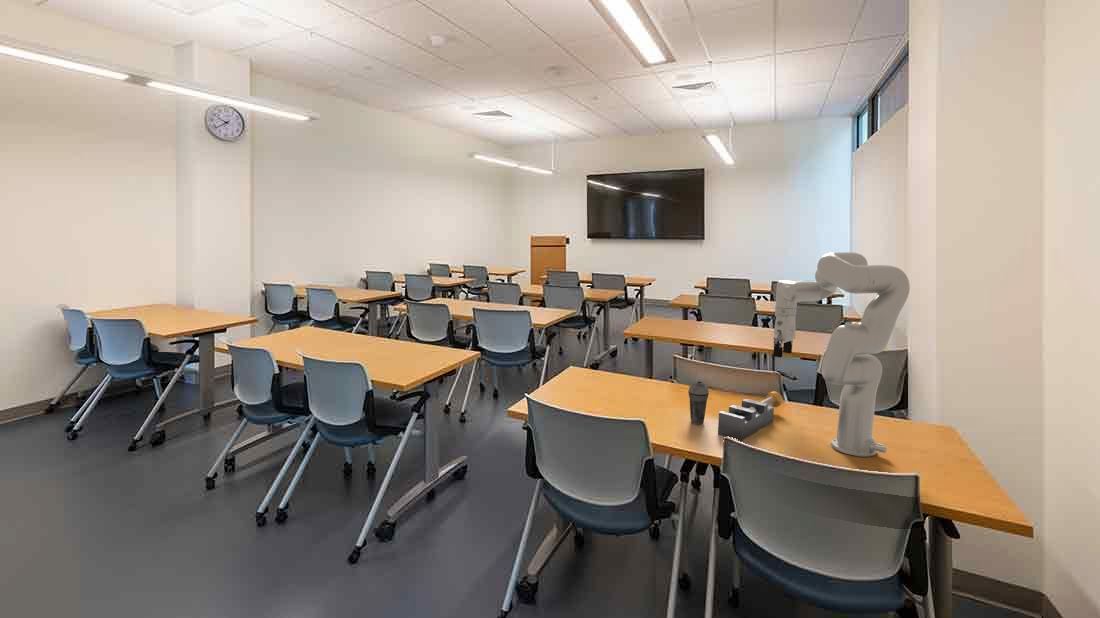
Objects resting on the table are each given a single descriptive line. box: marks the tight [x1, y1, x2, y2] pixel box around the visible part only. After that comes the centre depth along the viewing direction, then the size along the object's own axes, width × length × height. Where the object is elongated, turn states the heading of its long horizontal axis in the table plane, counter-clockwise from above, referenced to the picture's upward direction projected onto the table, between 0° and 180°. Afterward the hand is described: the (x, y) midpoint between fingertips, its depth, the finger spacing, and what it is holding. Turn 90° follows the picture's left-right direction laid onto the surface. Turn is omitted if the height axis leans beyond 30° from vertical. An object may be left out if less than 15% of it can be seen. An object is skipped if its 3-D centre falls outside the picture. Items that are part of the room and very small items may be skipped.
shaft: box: [742, 391, 784, 417], centre depth 185 cm, size 6×25×6 cm, turn 134°
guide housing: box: [717, 398, 775, 442], centre depth 177 cm, size 8×26×8 cm, turn 134°
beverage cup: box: [688, 370, 710, 426], centre depth 181 cm, size 7×7×20 cm
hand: (782, 354), depth 194 cm, fingers open, 9 cm apart
